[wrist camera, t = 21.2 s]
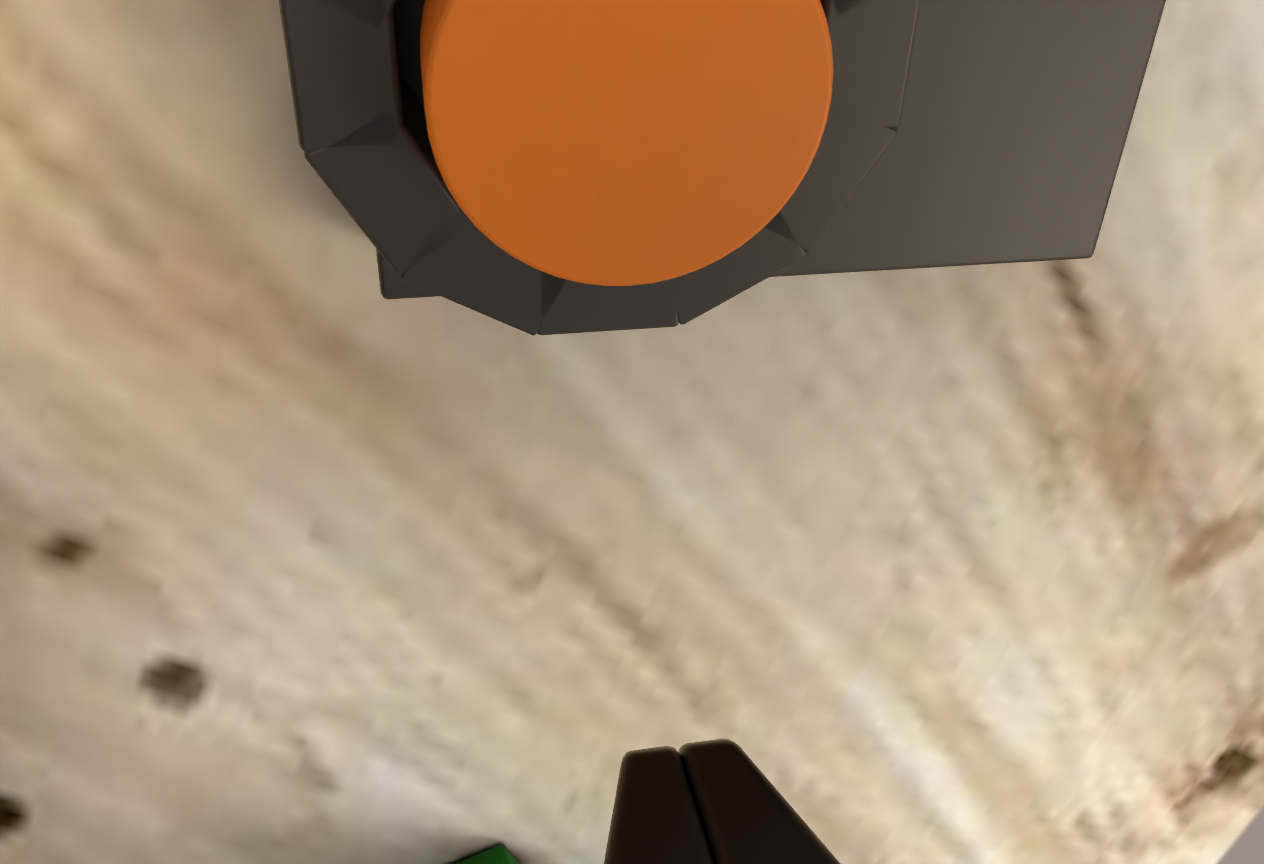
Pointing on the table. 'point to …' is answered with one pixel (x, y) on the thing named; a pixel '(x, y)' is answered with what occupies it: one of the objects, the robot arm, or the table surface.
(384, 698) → the table surface
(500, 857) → the milk carton
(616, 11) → the button
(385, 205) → the button base
